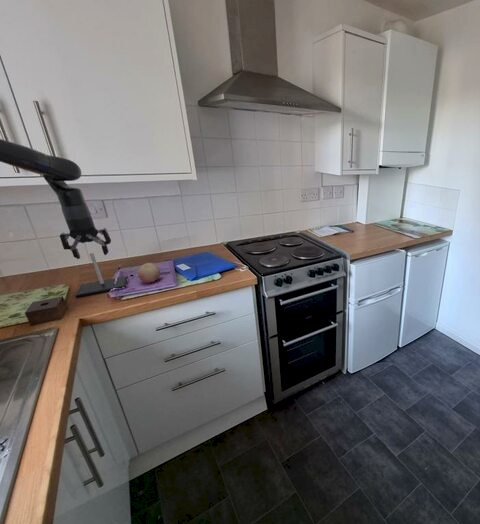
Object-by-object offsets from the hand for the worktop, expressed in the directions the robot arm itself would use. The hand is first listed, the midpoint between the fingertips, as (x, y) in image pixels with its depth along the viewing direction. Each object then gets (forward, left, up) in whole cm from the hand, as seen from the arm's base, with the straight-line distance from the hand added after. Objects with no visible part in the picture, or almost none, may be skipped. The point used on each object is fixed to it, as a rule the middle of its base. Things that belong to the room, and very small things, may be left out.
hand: (92, 256), depth 118 cm
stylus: (0, 0, -13) cm, 13 cm away
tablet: (0, 0, -14) cm, 14 cm away
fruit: (+17, -3, -14) cm, 22 cm away
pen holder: (-13, -17, -14) cm, 26 cm away
